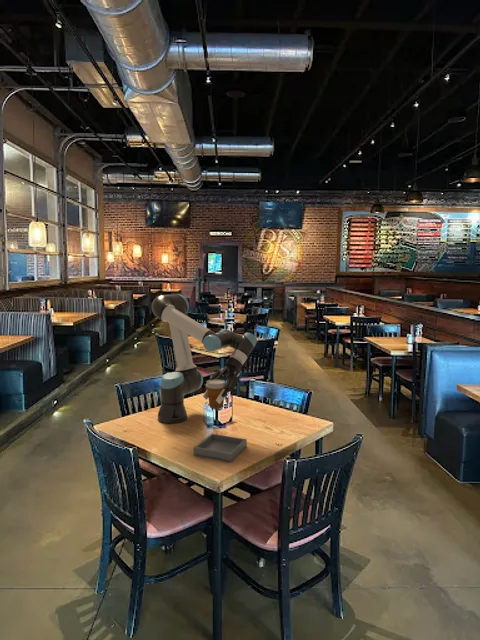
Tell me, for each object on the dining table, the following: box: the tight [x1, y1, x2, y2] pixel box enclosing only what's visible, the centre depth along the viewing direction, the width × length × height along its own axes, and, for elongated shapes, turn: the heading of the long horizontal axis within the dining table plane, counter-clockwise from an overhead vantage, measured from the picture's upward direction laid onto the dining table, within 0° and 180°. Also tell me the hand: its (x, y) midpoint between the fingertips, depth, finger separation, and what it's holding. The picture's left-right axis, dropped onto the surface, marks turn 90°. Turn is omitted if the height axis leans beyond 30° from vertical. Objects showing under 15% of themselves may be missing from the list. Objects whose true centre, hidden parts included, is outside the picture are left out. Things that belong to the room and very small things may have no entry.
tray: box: [193, 433, 248, 464], centre depth 186 cm, size 17×17×4 cm
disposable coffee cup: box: [205, 379, 226, 410], centre depth 204 cm, size 10×10×12 cm
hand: (211, 400), depth 202 cm, fingers closed on disposable coffee cup, 9 cm apart
